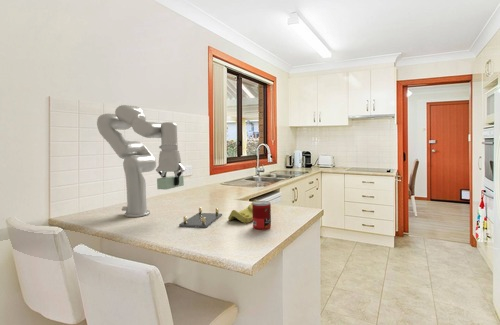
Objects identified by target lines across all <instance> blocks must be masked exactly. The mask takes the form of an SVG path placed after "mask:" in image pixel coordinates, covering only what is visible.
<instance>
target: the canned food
mask: <svg viewBox="0 0 500 325" xmlns="http://www.w3.org/2000/svg"><path fill="white" fill-rule="evenodd" d="M252 202H253V201H252ZM252 202H251V203H252ZM271 208H272V206H271V202H270V201H269V200H267V201H266V200H258V201H255V202H253V203H252V212H253V220H252V227H253V229H254V230H257V231H258V230H259V231H264V230H265V231H266V230H269V229H271V226H272V218H271V217H272V209H271Z"/></svg>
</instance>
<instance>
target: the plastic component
mask: <svg viewBox="0 0 500 325" xmlns="http://www.w3.org/2000/svg"><path fill="white" fill-rule="evenodd" d="M255 201H259V200H258V199H254V200H253V201H252V202H251V203H250V204H249V205H248V206H247V207H246V208H243V209H242V210H240V211H237V210H236V209H233V210H231V212H230V214H229V216H228V217H227V218H228V220H229V221H233V220H235V219H237V220H239V221H240V222H242V223H243V224H248V223H252V222H253V212H252V203H253V202H255Z"/></svg>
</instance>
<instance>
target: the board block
mask: <svg viewBox="0 0 500 325" xmlns="http://www.w3.org/2000/svg"><path fill="white" fill-rule="evenodd" d="M174 178H175V174H174V175H169V176H166V177H163V178H162V177H159V178H156V184H157V190H165V191H166V190H171V189H176V188H178V187H179V188H180V187H182V186H184V184H185V183H184V182H185V181H184V179H185V178H184V175H182V174H181V175H180V177H179V185H177V186H175V182H174Z"/></svg>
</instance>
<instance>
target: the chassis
mask: <svg viewBox="0 0 500 325" xmlns="http://www.w3.org/2000/svg"><path fill="white" fill-rule="evenodd" d="M222 216H223V213H219V208H218V207H217V208H215V212H214V213H213V212H211V213H210V212H203V209H202V207H199V208H198V213H195V214H194V215H192V216H191V217H189V218H187V216H186V215H185V216H183V222H181V223H179V224H178V226H179V227H180V228H181V227H182V228H200V229H201V228H203V229H205V228H209V226H211V225H212V224H213V223H215V222H216V221H217V220H218V219H219V218H221V217H222Z"/></svg>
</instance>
